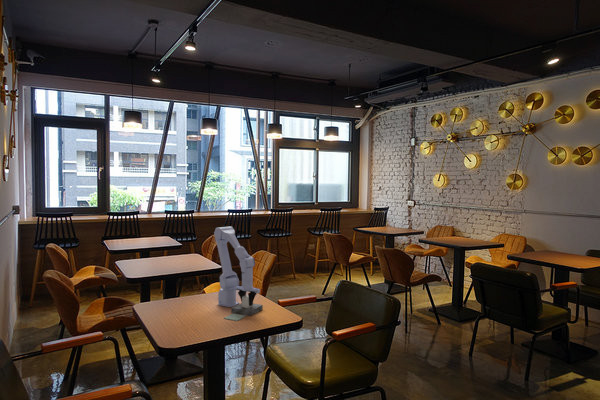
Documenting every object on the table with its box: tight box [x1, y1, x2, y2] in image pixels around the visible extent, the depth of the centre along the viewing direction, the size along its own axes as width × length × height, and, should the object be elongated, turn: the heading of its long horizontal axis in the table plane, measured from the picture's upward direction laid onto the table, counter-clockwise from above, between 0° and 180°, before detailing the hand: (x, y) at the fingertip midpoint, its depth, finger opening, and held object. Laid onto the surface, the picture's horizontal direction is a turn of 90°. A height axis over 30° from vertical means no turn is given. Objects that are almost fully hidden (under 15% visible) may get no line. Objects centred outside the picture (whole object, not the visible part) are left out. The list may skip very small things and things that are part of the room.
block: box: [241, 294, 252, 308], centre depth 214 cm, size 4×4×8 cm
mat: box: [223, 313, 247, 322], centre depth 204 cm, size 8×8×1 cm
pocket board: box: [230, 302, 264, 317], centre depth 215 cm, size 12×12×2 cm
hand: (247, 304), depth 215 cm, fingers closed on block, 4 cm apart
